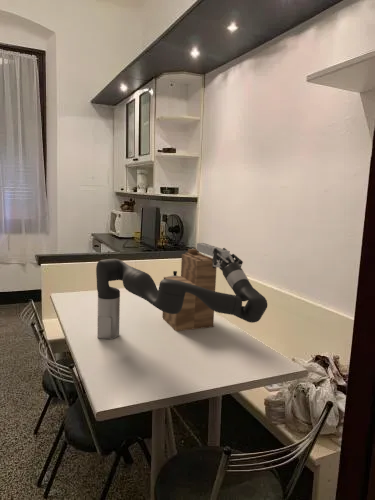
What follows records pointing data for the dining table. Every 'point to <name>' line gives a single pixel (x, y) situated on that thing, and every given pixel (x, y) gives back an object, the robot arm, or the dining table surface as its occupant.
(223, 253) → the steel bar
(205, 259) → the stand
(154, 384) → the dining table surface
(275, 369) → the dining table surface
